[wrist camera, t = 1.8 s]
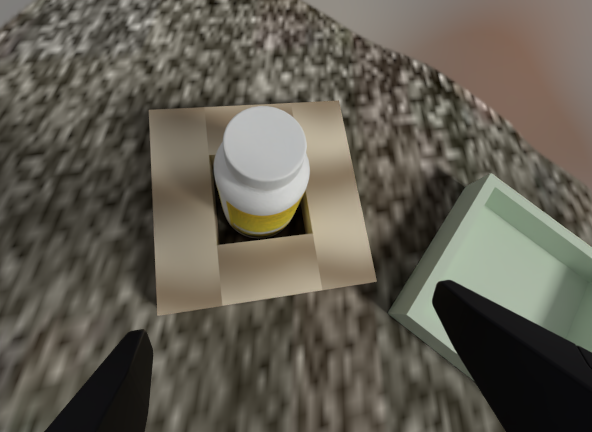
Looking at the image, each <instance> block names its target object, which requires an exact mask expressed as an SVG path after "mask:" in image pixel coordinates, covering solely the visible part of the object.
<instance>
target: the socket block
mask: <svg viewBox="0 0 592 432" xmlns="http://www.w3.org/2000/svg"><path fill="white" fill-rule="evenodd" d="M257 106H270V107H275V108H278V109H280V110H283V111H285V112H286V113H288V114H290V115H291V116H292V117H293V118H294V119H295V120H296V121H297V122H298V123H299V124H300V126H301V127H302V129H303V131H304V134H305V137H306V142H307V150H306V154H307V157H308V160H309V166H310V175H309V181H308V184H307V187H306V190H305V192H304V195H303V197H302V199H301V201H300V203H301V209H302V215H303V221H304V227H305V233H306V234H304V235H296V236H288V237H280V238H272V239H264V240H256V241H247V242H239V243H231V244H223V245H220V242H219V231H218V220H217V209H216V199H215V188H214V177H213V170H214V159H215V156H216V153H217V150H218V148H219V146H220V145H221V143H222V142H223V136H224V132H225V129H226V127H227V125H228V123H229V122H230V121H231V119H232V118H233V117H234V116H235V115H237V114H238V113H240V112H241V111H243V110H246V109H248V108H251V107H257ZM149 125H150V149H151V173H152V197H153V221H154V245H155V269H156V293H157V316H159V315H167V314H173V313H180V312H186V311H192V310H199V309H205V308H212V307H218V306H224V305H231V304H237V303H244V302H250V301H257V300H263V299H269V298H276V297H282V296H289V295H295V294H302V293H308V292H314V291H321V290H327V289H334V288H340V287H346V286H353V285H359V284H366V283H372V282H377V280H376V275H375V270H374V266H373V261H372V256H371V251H370V247H369V242H368V237H367V232H366V228H365V223H364V218H363V213H362V209H361V204H360V199H359V194H358V190H357V185H356V180H355V175H354V171H353V166H352V161H351V156H350V152H349V147H348V142H347V137H346V133H345V128H344V123H343V118H342V114H341V109H340V104H339V101H323V102H302V103H282V104H261V105H241V106H220V107H200V108H179V109H159V110H149Z"/></svg>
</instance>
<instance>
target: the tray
mask: <svg viewBox="0 0 592 432" xmlns="http://www.w3.org/2000/svg"><path fill="white" fill-rule="evenodd" d="M443 280H452V281H454V282H456V283H458V284H460V285H462V286H464V287H466V288H468V289H470V290H472V291H474V292H476V293H478V294H480V295H481V296H483V297H485V298H487V299H489V300H491V301H493V302H495V303H497V304H499V305H501V306H503V307H505V308H507V309H509V310H511V311H512V312H514V313H516V314H518V315H520V316H522V317H524V318H526V319H528V320H530V321H532V322H534V323H536V324H538V325H540V326H542V327H544V328H545V329H547V330H549V331H551V332H553V333H555V334H557V335H559V336H561V337H563V338H565V339H567V340H569V341H571V342H573V343H574V344H576V346H577V345H578V346H581V347H582V348H584V349H586V350H588V351H590V352H592V247H591V246H589V245H588V244H586V243H585V242H584V241H582V240H581V239H580V238H578V237H577V236H576V235H574V234H573V233H572V232H570V231H569V230H567V229H566V228H565V227H563V226H562V225H561V224H559V223H558V222H557V221H555V220H554V219H553V218H551V217H550V216H548V215H547V214H546V213H544V212H543V211H542V210H540V209H539V208H538V207H536V206H535V205H534V204H532V203H531V202H529V201H528V200H527V199H525V198H524V197H523V196H521V195H520V194H519V193H517V192H516V191H515V190H513V189H512V188H510V187H509V186H508V185H506V184H505V183H504V182H502V181H501V180H500V179H498V178H497V177H496V176H494V175H493V174H491V173H490V174H488V175H486V176H484V177H482V178H481V179H479V180H477V181H475V182H473V183H471V184H470V185H468V186H466V187H465V188H464V190H463V191H462V193H461V195H460V196H459V198H458V199H457V201H456V203H455V204H454V206H453V208H452V209H451V211H450V212H449V214H448V216H447V217H446V219H445V221H444V222H443V224H442V225H441V227H440V229H439V230H438V232H437V233H436V235H435V237H434V238H433V240H432V242H431V243H430V245H429V246H428V248H427V250H426V251H425V253H424V255H423V256H422V258H421V259H420V261H419V263H418V264H417V266H416V268H415V269H414V271H413V272H412V274H411V276H410V277H409V279H408V280H407V282H406V284H405V285H404V287H403V289H402V290H401V292H400V293H399V295H398V297H397V298H396V300H395V302H394V303H393V305H392V306H391V308H390V310H389V311H388V314H389V315H390V316H392V317H393V318H394V319H395V320H397V321H398V322H399V323H401V324H402V325H403V326H404V327H406V328H407V329H408V330H409V331H411V332H412V333H413V334H415V335H416V336H417V337H418V338H420V339H421V340H422V341H423V342H425V343H426V344H427V345H429V346H430V347H431V348H432V349H434V350H435V351H436V352H438V353H439V354H440V355H441V356H443V357H444V358H445V359H446V360H448V361H449V362H450V363H452V364H453V365H454V366H455V367H457V368H458V369H459V370H460V371H462V372H463V373H464V374H466V375H467V376H468V377H469V378H471V379H472V380H473V378H472V377H471V375H470V373H469V372H468V370H467V369H466V367H465V365H464V364H463V362H462V361H461V359H460V357H459V356H458V354H457V352H456V351H455V349H454V347H453V345H452V343H451V341H450V339H449V337H448V335H447V333H446V331H445V329H444V327H443V325H442V323H441V321H440V319H439V317H438V315H437V313H436V311H435V309H434V307H433V304H432V297H433V294H434V291H435V287H436V284H437V283H438V282H439V281H443ZM473 381H474V380H473Z"/></svg>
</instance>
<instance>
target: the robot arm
mask: <svg viewBox="0 0 592 432" xmlns="http://www.w3.org/2000/svg"><path fill="white" fill-rule="evenodd" d="M432 304H433V307H434V309H435V311H436V313H437V315H438V317H439V319H440V321H441V323H442V325H443V327H444V329H445V331H446V333H447V335H448V337H449V339H450V341H451V343H452V345H453V347H454V349H455V351H456V352H457V354H458V356H459V357H460V359H461V361H462V362H463V364H464V365H465V367H466V369H467V370H468V372H469V373H470V375H471V377H472V378H473V380H474V381H475V383H476V385H477V386H478V388H479V389H480V391H481V393H482V394H483V396H484V397H485V399H486V401H487V402H488V404H489V405H490V407H491V409H492V410H493V412H494V413H495V415H496V417H497V418H498V420H499V421H500V423H501V425H502V426H503V428H504V429H505V431H506V432H592V352H590V351H588V350H586V349H584V348H582V347H581V346H578V345H577V346H576V344H574V343H573V342H571V341H569V340H567V339H565V338H563V337H561V336H559V335H557V334H555V333H553V332H551V331H549V330H547V329H545V328H544V327H542V326H540V325H538V324H536V323H534V322H532V321H530V320H528V319H526V318H524V317H522V316H520V315H518V314H516V313H514V312H512V311H511V310H509V309H507V308H505V307H503V306H501V305H499V304H497V303H495V302H493V301H491V300H489V299H487V298H485V297H483V296H481V295H480V294H478V293H476V292H474V291H472V290H470V289H468V288H466V287H464V286H462V285H460V284H458V283H456V282H454V281H452V280H443V281H439V282H438V283H437V284H436V287H435V291H434V294H433V297H432ZM152 364H153V348H152V345H151V343H150V340H149V337H148V334H147V332H146V331H145V330H144V329H141V330H135V331H130V332H128V333H127V334H126V335H125V336H124V338H123V339H122V340H121V341H120V342H119V344H118V345H117V346H116V347H115V348H114V350H113V351H112V352H111V353H110V354H109V355H108V357H107V358H106V359H105V360H104V361H103V363H102V364H101V365H100V366H99V367H98V369H97V370H96V371H95V372H94V373H93V374H92V376H91V377H90V378H89V379H88V380H87V382H86V383H85V384H84V385H83V386H82V388H81V389H80V390H79V391H78V392H77V393H76V395H75V396H74V397H73V398H72V399H71V401H70V402H69V403H68V404H67V405H66V407H65V408H64V409H63V410H62V411H61V412H60V414H59V415H58V416H57V417H56V418H55V420H54V421H53V422H52V423H51V424H50V425H49V427H48V428H47V429H46V430H45V431H44V432H145V427H146V422H147V416H148V408H149V398H150V387H151V375H152Z"/></svg>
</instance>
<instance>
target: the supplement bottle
mask: <svg viewBox="0 0 592 432" xmlns="http://www.w3.org/2000/svg"><path fill="white" fill-rule="evenodd" d="M306 150H307V142H306V137H305V134H304V131H303V129H302V127H301V126H300V124H299V123H298V122H297V121H296V120H295V119H294V118H293V117H292V116H291V115H290V114H288V113H286V112H285V111H283V110H280V109H278V108H275V107H270V106H257V107H251V108H248V109H246V110H243V111H241V112H240V113H238V114H237V115H235V116H234V117H233V118H232V119H231V121H230V122H229V123H228V125H227V127H226V129H225V132H224V136H223V142H222V143H221V145H220V146H219V148H218V150H217V153H216V156H215V159H214V176H215V181H216V186H217V189H218V193H219V197H220V200H221V205H222V208H223V212H224V214H225V217H226V219H227V221H228V222H229V224H230V225H231V226H232V227H233V228H234V229H235V230H236V231H237V232H239V233H240V234H242V235H244V236H247V237H251V238H267V237H271V236H273V235H276V234H277V233H279V232H280V231H282V230H283V229H284V228H285V227H286V226H287V225H288V224H289V222H290V221H291V219H292V217H293V215H294V213H295V211H296V209H297V207H298V205H299V203H300V201H301V199H302V197H303V195H304V192H305V190H306V187H307V184H308V181H309V175H310V166H309V160H308V157H307V154H306Z"/></svg>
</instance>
